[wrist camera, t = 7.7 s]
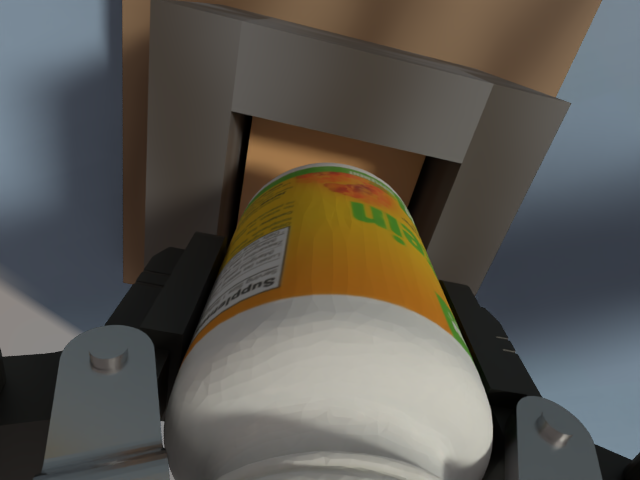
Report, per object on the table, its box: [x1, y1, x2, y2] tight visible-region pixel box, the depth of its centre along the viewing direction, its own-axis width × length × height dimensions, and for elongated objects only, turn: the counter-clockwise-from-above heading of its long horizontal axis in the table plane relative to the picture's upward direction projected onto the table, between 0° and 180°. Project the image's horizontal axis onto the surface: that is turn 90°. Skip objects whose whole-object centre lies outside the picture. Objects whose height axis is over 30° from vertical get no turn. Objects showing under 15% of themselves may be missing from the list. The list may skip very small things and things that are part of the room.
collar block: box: [122, 0, 602, 296], centre depth 17 cm, size 19×19×10 cm
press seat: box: [237, 116, 426, 226], centre depth 16 cm, size 6×6×2 cm
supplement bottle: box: [164, 163, 493, 480], centre depth 9 cm, size 5×5×10 cm
